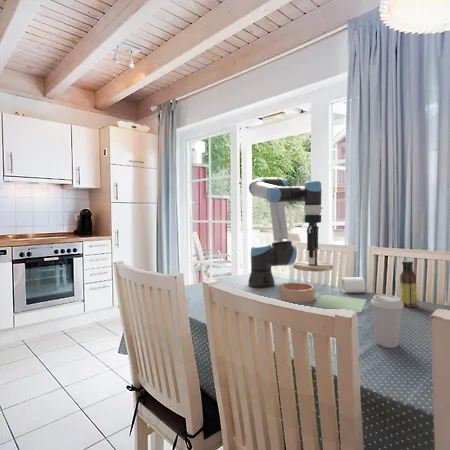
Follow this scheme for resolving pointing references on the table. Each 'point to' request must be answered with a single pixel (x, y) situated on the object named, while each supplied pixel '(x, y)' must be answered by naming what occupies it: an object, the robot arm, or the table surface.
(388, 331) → the coffee cup
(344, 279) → the mug
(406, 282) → the sauce bottle
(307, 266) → the lid
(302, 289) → the bowl
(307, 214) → the robot arm
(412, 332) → the table surface
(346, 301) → the mat
